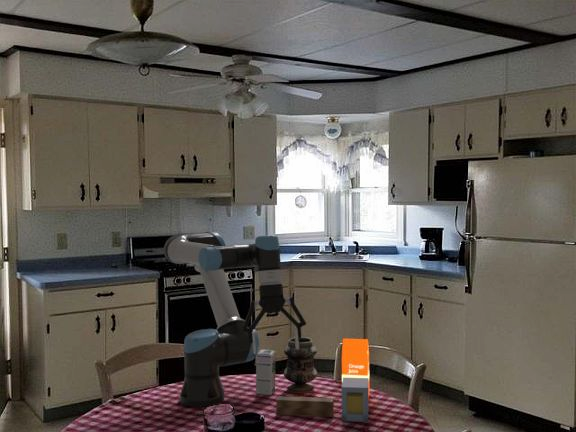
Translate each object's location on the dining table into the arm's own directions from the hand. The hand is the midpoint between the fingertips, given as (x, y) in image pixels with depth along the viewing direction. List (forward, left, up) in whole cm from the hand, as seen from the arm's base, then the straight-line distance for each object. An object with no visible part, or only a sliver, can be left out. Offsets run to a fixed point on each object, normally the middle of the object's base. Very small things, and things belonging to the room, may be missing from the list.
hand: (276, 351), depth 195 cm
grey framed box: (+25, +2, -20) cm, 32 cm away
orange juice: (+24, +21, -21) cm, 38 cm away
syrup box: (-8, +22, -20) cm, 31 cm away
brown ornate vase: (+4, +27, -21) cm, 34 cm away
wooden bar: (+9, +2, -21) cm, 23 cm away
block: (+25, +2, -20) cm, 32 cm away
